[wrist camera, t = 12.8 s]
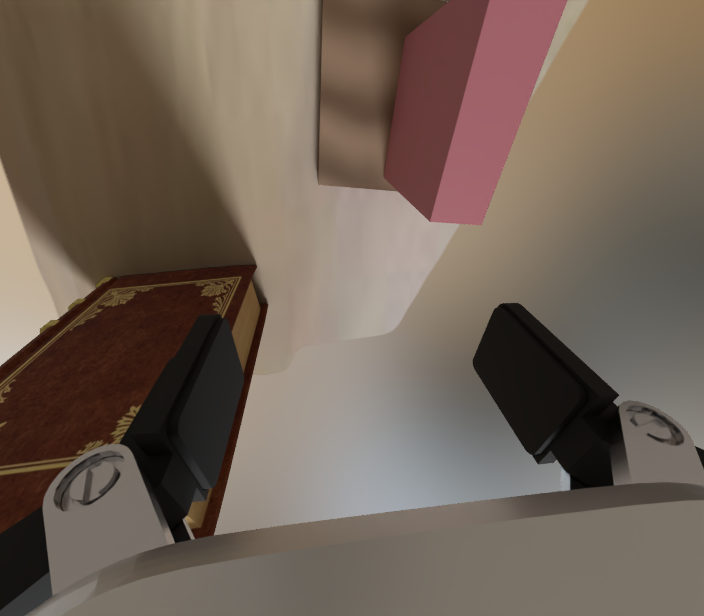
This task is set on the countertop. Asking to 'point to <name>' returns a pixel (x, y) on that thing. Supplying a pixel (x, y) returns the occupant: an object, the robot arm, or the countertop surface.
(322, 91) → the shelf board
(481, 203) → the slim book
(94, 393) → the decorative book
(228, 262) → the countertop surface
